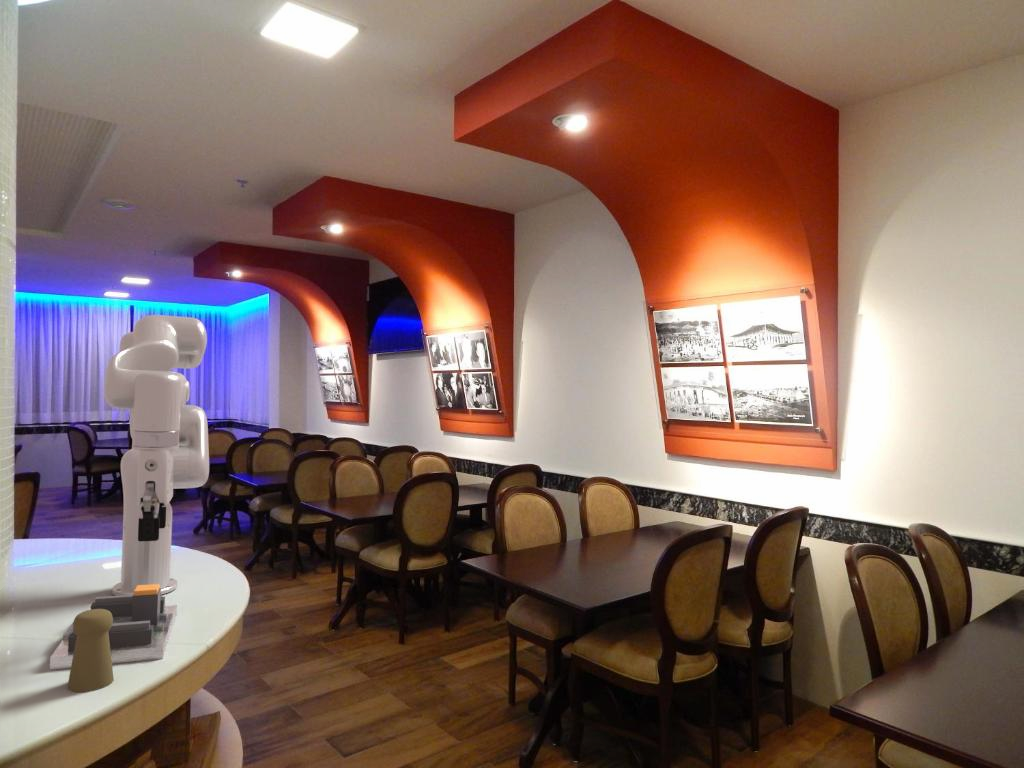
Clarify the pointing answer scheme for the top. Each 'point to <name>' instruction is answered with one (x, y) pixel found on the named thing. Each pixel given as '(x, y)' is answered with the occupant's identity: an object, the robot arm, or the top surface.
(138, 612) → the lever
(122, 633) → the long gray rail
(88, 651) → the cork
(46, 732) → the top surface
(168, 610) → the panel
